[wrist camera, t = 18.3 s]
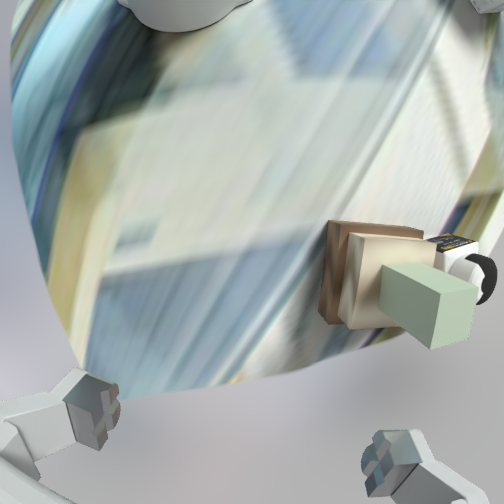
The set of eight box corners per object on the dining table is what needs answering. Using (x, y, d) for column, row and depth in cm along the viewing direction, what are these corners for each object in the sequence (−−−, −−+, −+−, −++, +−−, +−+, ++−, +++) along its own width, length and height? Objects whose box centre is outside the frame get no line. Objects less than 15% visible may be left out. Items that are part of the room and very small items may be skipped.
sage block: (382, 264, 30) (440, 293, 20) (418, 261, 31) (479, 287, 21) (378, 308, 31) (429, 349, 21) (413, 303, 32) (468, 338, 22)
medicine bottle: (447, 232, 39) (504, 248, 28) (448, 276, 41) (500, 301, 29) (413, 242, 39) (470, 262, 27) (414, 288, 41) (466, 319, 29)
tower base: (327, 219, 37) (340, 224, 33) (405, 226, 39) (423, 231, 34) (317, 310, 40) (328, 324, 35) (392, 307, 41) (408, 319, 37)
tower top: (349, 232, 33) (364, 238, 29) (417, 237, 34) (436, 243, 31) (337, 315, 35) (350, 329, 31) (404, 312, 36) (420, 324, 33)
